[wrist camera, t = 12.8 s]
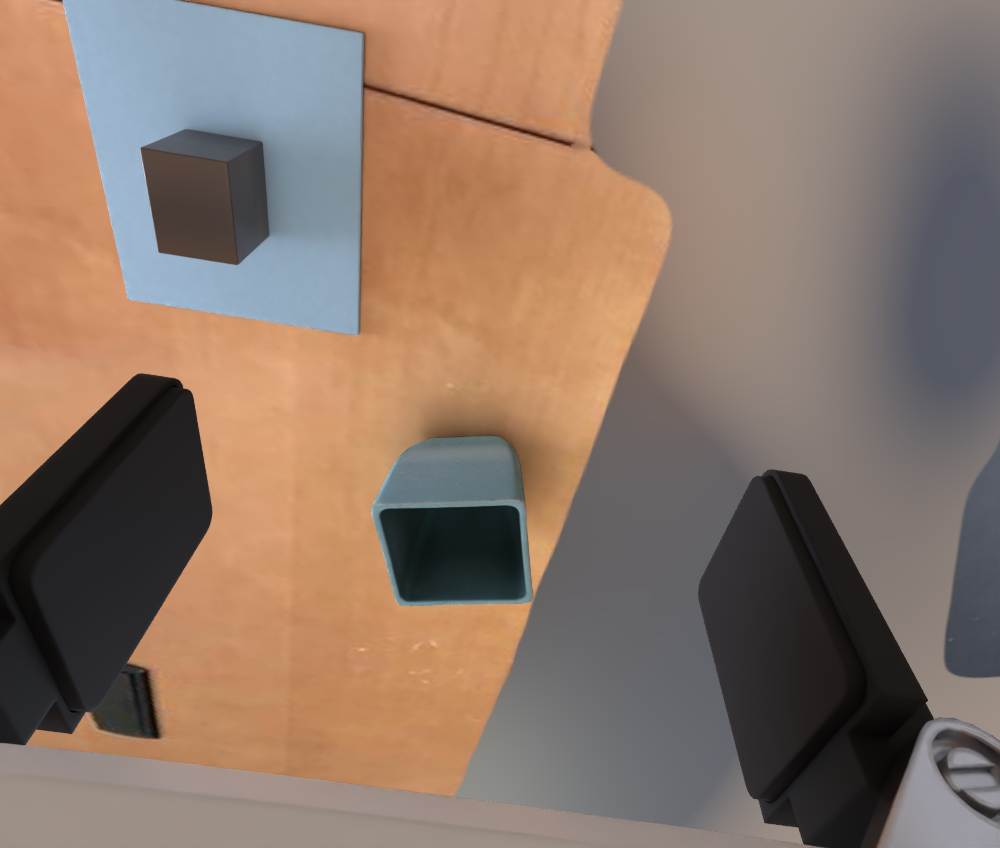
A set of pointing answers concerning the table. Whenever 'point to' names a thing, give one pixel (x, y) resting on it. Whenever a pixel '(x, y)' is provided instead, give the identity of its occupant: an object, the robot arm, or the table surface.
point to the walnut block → (207, 195)
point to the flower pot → (455, 524)
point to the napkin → (243, 114)
